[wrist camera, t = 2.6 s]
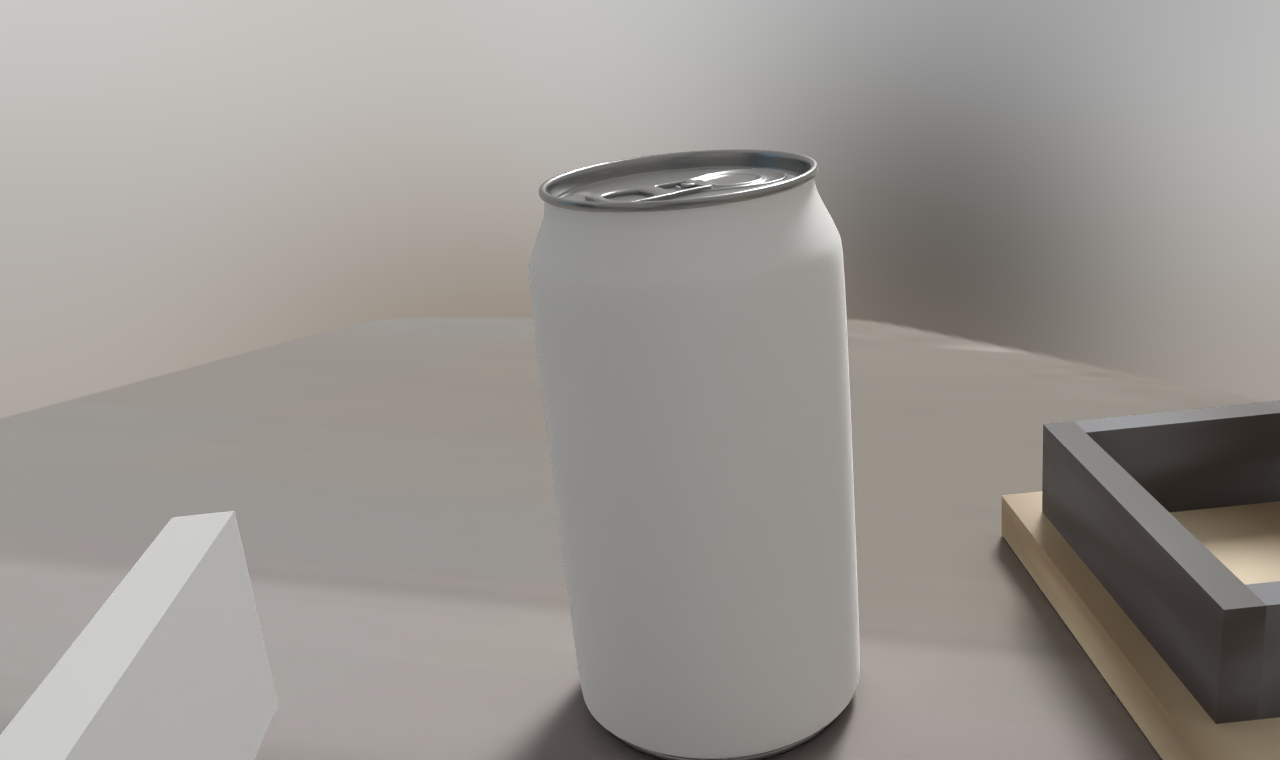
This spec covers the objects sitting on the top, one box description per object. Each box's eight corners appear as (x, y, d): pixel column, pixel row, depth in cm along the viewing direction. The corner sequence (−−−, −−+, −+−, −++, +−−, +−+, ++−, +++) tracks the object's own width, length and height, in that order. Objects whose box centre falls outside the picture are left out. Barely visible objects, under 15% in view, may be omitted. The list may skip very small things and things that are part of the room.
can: (921, 707, 27) (909, 164, 23) (662, 815, 24) (599, 225, 20) (763, 590, 32) (732, 136, 28) (539, 668, 30) (471, 181, 26)
